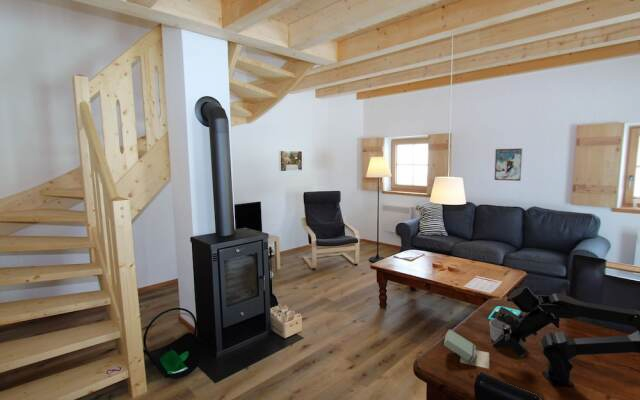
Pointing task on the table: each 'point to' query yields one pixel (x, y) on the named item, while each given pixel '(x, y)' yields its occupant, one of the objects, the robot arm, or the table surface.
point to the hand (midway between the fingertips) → (493, 346)
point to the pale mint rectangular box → (460, 345)
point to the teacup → (496, 328)
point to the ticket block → (478, 359)
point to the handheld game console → (493, 314)
